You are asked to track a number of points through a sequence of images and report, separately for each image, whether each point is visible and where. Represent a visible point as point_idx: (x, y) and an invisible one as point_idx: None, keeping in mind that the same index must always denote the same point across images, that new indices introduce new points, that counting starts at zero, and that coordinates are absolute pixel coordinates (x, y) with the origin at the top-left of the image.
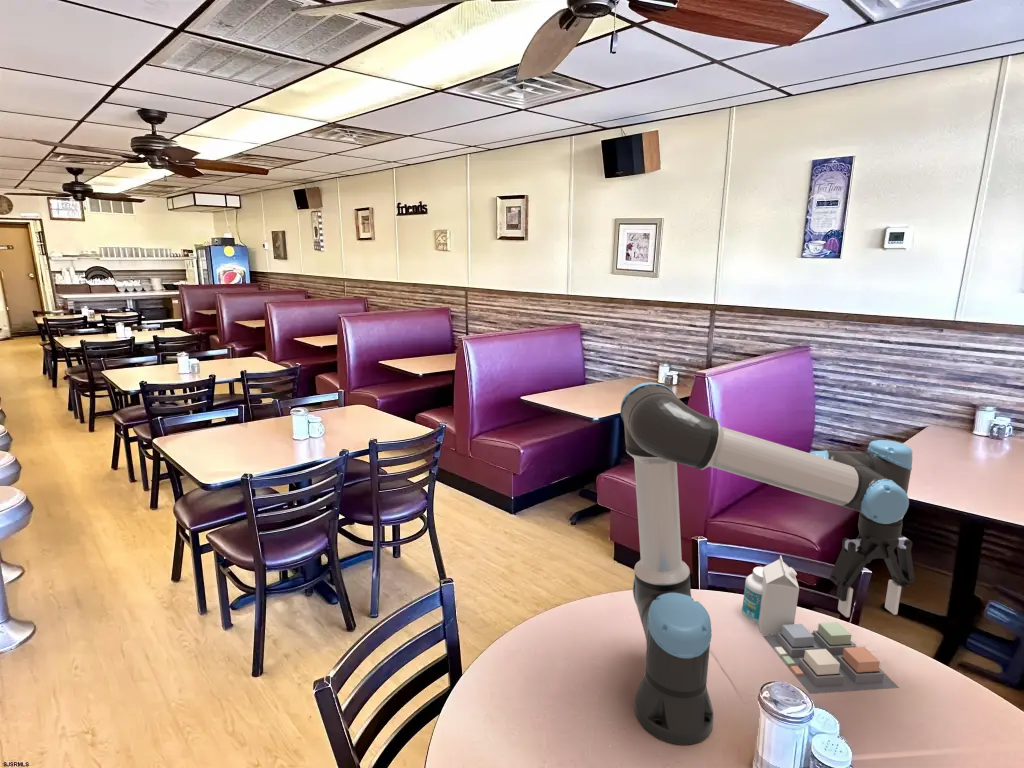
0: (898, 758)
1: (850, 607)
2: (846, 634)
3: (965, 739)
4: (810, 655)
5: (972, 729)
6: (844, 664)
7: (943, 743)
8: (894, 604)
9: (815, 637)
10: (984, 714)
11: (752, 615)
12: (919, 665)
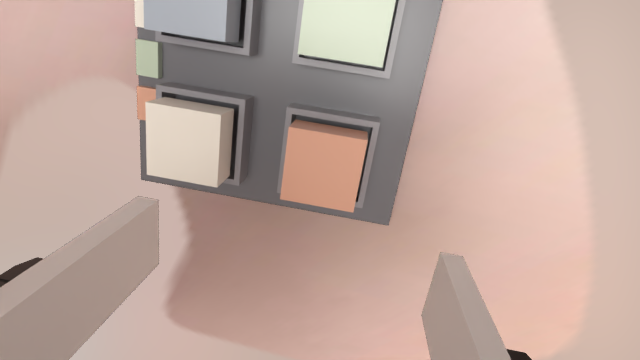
0: (224, 338)
1: (121, 301)
2: (363, 61)
3: (394, 348)
4: (147, 130)
5: None
6: (283, 141)
7: (340, 341)
8: (433, 358)
9: None
10: (515, 321)
11: None
12: (558, 157)
